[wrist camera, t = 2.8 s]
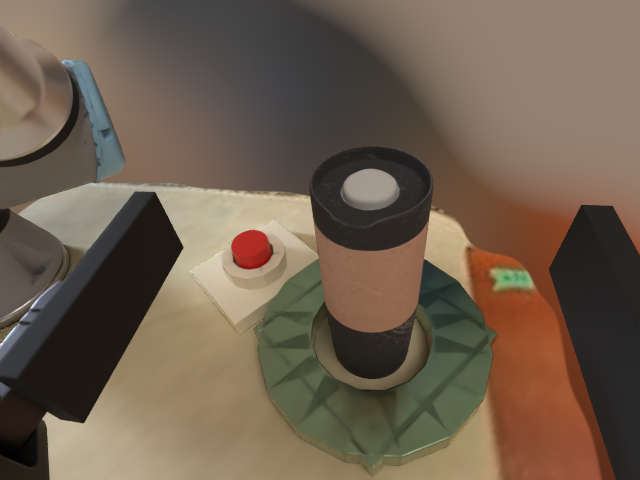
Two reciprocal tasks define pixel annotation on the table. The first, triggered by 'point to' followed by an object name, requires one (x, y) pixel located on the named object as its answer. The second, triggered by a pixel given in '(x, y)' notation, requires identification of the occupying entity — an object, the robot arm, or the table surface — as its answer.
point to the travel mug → (371, 252)
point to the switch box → (252, 276)
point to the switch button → (251, 249)
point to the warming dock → (377, 405)
